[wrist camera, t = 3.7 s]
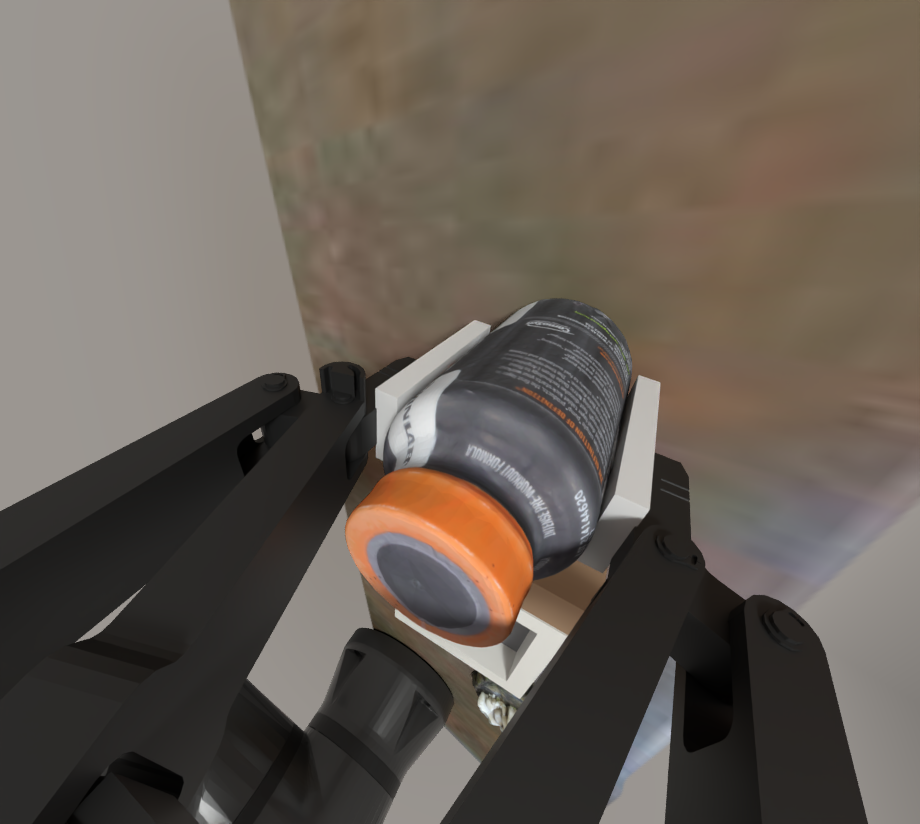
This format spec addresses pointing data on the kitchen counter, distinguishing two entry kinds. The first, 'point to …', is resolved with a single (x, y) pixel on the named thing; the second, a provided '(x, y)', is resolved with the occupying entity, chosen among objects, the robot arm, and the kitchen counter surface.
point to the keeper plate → (507, 652)
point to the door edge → (564, 595)
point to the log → (496, 700)
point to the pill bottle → (496, 472)
